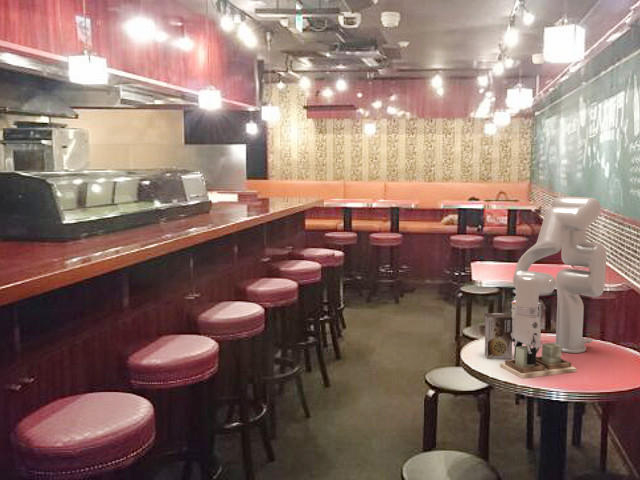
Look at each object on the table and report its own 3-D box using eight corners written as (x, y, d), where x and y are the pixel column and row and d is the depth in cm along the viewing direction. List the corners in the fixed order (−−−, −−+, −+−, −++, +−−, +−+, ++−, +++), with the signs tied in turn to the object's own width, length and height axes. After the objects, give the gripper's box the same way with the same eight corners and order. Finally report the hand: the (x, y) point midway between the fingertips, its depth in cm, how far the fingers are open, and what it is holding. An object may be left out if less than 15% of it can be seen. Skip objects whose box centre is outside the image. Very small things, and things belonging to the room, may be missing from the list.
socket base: (551, 360, 225) (552, 338, 224) (576, 371, 213) (577, 348, 212) (500, 366, 219) (500, 344, 218) (522, 378, 206) (523, 354, 206)
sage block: (526, 364, 217) (526, 345, 216) (534, 368, 213) (534, 349, 212) (515, 366, 216) (515, 346, 215) (523, 370, 211) (523, 350, 211)
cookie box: (508, 354, 233) (509, 312, 231) (512, 359, 227) (513, 316, 225) (484, 353, 234) (485, 312, 232) (486, 358, 228) (488, 316, 226)
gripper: (552, 315, 205) (550, 367, 207) (520, 304, 221) (518, 353, 223) (533, 317, 202) (531, 369, 205) (502, 306, 219) (501, 355, 221)
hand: (524, 360), depth 214 cm, fingers open, 6 cm apart
